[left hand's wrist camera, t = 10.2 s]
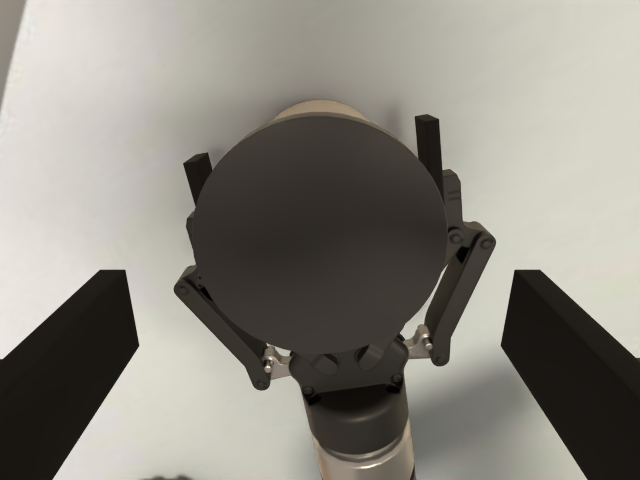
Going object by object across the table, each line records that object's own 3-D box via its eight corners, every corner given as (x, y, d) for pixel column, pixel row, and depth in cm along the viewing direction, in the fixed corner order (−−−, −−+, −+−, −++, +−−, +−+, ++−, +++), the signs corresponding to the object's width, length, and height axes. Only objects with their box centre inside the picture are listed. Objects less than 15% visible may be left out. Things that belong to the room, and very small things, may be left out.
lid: (455, 119, 18) (469, 124, 16) (418, 335, 22) (427, 359, 20) (197, 103, 18) (184, 108, 16) (208, 325, 22) (198, 348, 20)
